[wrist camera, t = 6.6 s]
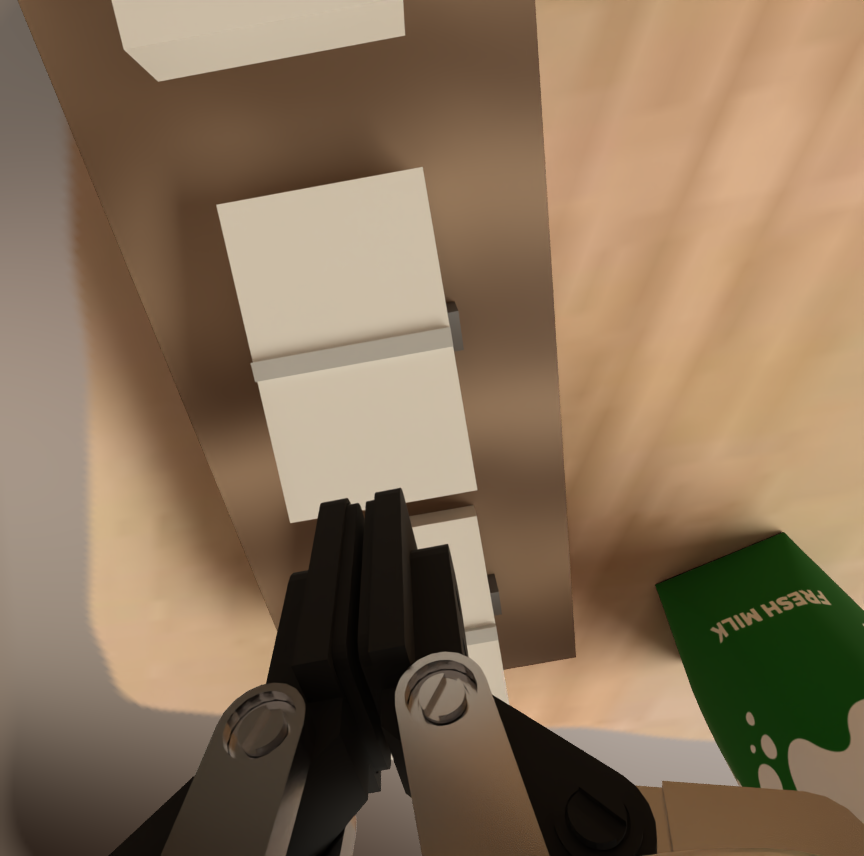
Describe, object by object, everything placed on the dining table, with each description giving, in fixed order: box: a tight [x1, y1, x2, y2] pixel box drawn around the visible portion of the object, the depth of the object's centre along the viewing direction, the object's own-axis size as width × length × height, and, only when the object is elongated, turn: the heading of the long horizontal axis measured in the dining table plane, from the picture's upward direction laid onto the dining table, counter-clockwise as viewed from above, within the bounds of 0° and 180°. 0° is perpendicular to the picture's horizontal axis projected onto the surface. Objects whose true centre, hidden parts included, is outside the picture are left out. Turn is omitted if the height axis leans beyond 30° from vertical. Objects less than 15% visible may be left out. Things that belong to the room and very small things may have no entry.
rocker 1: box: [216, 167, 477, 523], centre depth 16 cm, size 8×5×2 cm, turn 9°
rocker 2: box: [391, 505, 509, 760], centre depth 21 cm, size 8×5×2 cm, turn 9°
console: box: [18, 0, 576, 670], centre depth 19 cm, size 32×12×6 cm, turn 9°
